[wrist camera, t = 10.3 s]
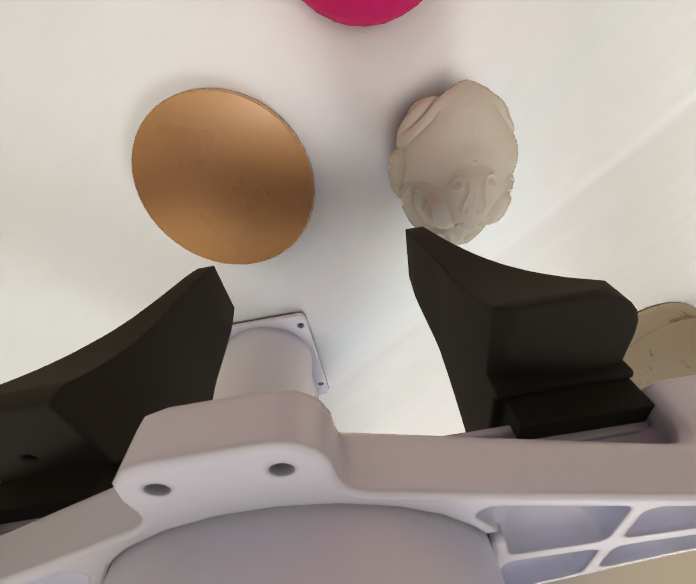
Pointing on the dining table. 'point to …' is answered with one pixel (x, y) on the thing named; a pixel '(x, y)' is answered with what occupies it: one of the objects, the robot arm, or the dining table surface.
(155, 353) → the robot arm
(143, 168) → the copper coaster
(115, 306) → the dining table surface
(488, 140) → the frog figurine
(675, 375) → the thermos bottle
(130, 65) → the dining table surface
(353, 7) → the pepper mill
